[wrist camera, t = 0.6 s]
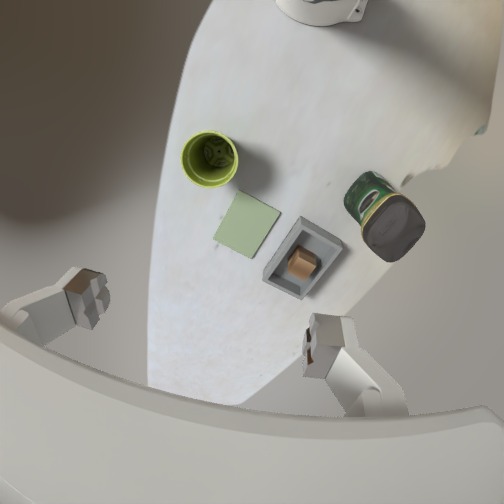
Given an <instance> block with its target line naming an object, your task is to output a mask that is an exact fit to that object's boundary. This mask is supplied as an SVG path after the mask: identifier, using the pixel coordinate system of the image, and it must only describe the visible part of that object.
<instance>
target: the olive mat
mask: <svg viewBox="0 0 504 504" xmlns="http://www.w3.org/2000/svg"><path fill="white" fill-rule="evenodd" d="M279 214H280V211H278V210H276V209H274V208H272V207H271V206H269V205H267V204H265V203H263V202H261V201H260V200H258V199H256V198H254V197H252V196H250V195H248V194H247V193H245V192H243V191H241V190H239V191H238V193H237V194H236V196H235V198H234V200H233V202H232V204H231V206H230V207H229V209H228V211H227V213H226V215H225V217H224V219H223V221H222V222H221V224H220V226H219V228H218V230H217V232H216V234H215V236H214V238H213V240H215V241H217V242H219V243H221V244H223V245H225V246H227V247H229V248H231V249H233V250H235V251H237V252H239V253H240V254H242V255H244V256H246V257H248V258H250V259H252V257H253V255H254V254H255V252H256V251H257V249H258V247H259V246H260V244H261V243H262V241H263V240H264V238H265V236H266V235H267V233H268V232H269V230H270V228H271V227H272V225H273V224H274V222H275V221H276V219H277V217H278V216H279Z"/></svg>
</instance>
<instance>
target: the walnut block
mask: <svg viewBox="0 0 504 504" xmlns="http://www.w3.org/2000/svg"><path fill="white" fill-rule="evenodd" d="M315 268H316V260H315V254H314V253H313V252H311V251H309V250H307V249H305V248H304V247H302V246H300V245H297V247H296V248H295V250H294V251H293V252H292V254H291V255H290V257H289V258H288V273H290V274H292V275H294V276H296V277H298V278H299V279H301V280H303V281H306V279H307V278H308V277H309V275H310V274H311V273H312V272H313V270H314V269H315Z"/></svg>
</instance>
